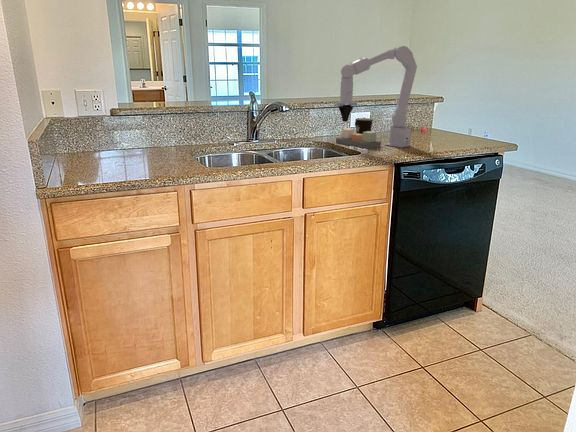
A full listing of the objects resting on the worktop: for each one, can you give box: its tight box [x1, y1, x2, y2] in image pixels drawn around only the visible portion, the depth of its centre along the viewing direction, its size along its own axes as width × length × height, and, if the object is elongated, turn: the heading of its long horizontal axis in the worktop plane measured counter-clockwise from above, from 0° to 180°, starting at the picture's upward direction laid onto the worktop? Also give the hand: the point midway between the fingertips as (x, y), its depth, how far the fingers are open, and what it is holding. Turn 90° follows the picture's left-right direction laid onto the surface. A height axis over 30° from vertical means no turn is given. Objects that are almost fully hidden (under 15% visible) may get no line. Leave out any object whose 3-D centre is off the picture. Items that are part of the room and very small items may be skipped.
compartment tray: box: [335, 136, 382, 150], centre depth 211 cm, size 20×9×2 cm, turn 42°
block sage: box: [362, 131, 377, 142], centre depth 205 cm, size 4×4×4 cm
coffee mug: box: [354, 117, 374, 134], centre depth 226 cm, size 12×9×10 cm
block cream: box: [340, 127, 356, 139], centre depth 214 cm, size 4×4×4 cm
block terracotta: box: [351, 133, 363, 141], centre depth 210 cm, size 4×4×4 cm
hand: (345, 121), depth 211 cm, fingers closed
